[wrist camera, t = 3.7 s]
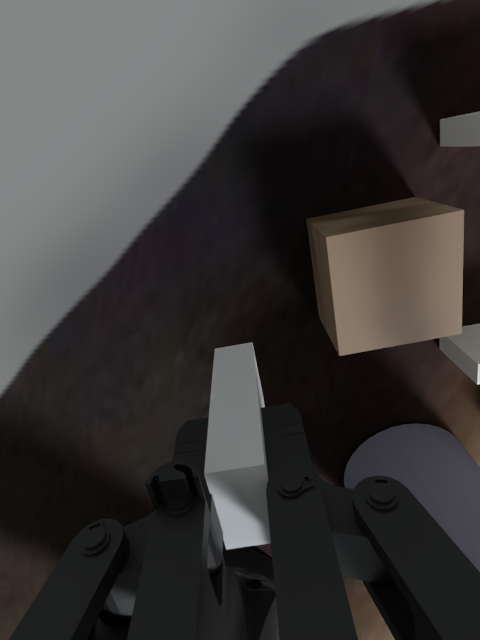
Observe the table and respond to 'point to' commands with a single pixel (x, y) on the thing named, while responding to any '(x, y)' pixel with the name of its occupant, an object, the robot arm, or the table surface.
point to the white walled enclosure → (476, 340)
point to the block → (388, 273)
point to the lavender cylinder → (427, 477)
